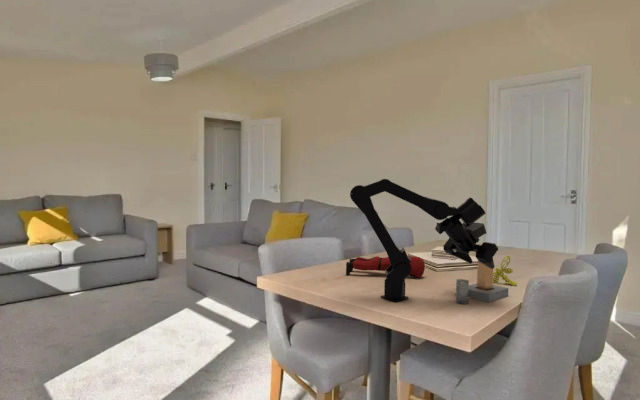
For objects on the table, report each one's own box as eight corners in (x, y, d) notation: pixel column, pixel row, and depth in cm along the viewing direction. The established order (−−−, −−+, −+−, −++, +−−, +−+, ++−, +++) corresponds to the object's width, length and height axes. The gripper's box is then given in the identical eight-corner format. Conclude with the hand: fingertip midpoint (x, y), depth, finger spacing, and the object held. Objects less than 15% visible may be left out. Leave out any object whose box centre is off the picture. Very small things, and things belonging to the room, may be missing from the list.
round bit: (463, 305, 131) (464, 282, 131) (453, 302, 134) (454, 280, 134) (470, 303, 134) (471, 280, 133) (460, 300, 136) (460, 278, 136)
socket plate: (488, 302, 134) (489, 294, 134) (460, 295, 142) (460, 287, 142) (508, 295, 142) (508, 288, 142) (480, 289, 150) (480, 282, 150)
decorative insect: (497, 297, 158) (478, 275, 161) (499, 295, 160) (481, 273, 164) (527, 278, 152) (507, 255, 155) (528, 276, 155) (509, 253, 158)
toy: (340, 282, 160) (424, 287, 153) (341, 260, 160) (424, 264, 152) (353, 267, 187) (424, 271, 180) (353, 247, 187) (425, 251, 180)
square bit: (484, 297, 140) (485, 260, 139) (476, 294, 143) (477, 258, 142) (492, 296, 141) (493, 259, 140) (484, 293, 144) (485, 258, 144)
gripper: (495, 217, 129) (519, 251, 135) (451, 212, 146) (474, 242, 152) (474, 244, 126) (500, 278, 132) (432, 236, 143) (456, 266, 149)
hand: (482, 265), depth 141 cm, fingers open, 9 cm apart
